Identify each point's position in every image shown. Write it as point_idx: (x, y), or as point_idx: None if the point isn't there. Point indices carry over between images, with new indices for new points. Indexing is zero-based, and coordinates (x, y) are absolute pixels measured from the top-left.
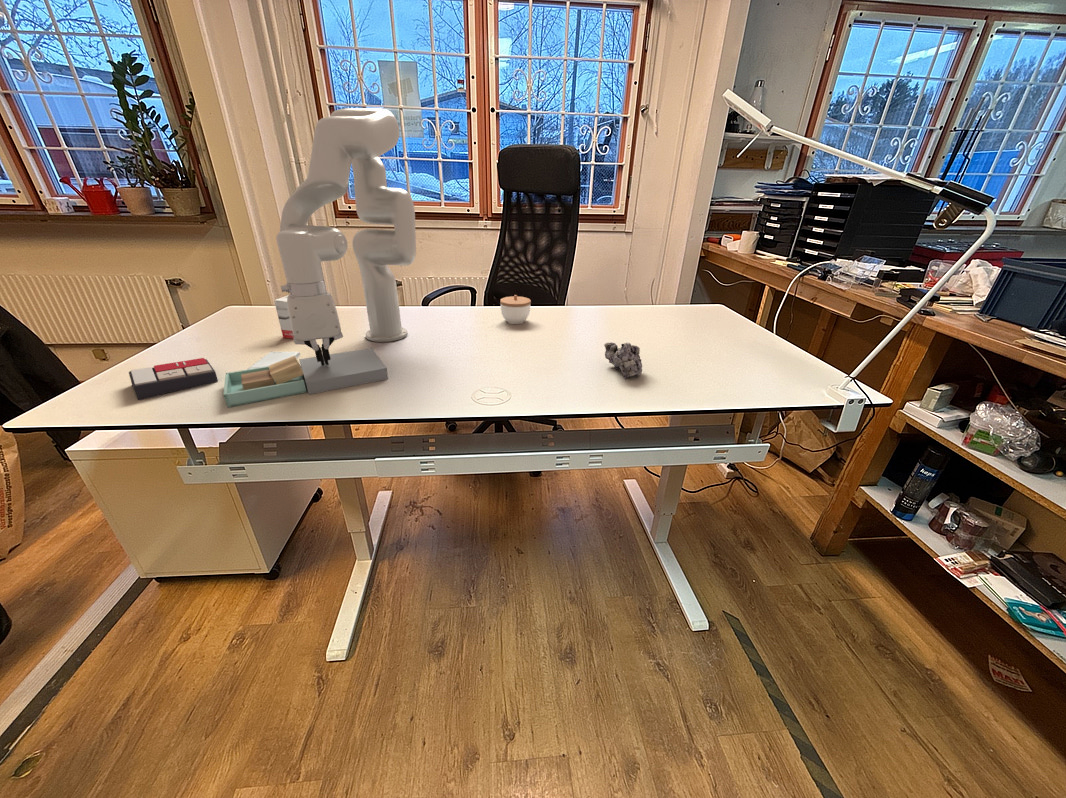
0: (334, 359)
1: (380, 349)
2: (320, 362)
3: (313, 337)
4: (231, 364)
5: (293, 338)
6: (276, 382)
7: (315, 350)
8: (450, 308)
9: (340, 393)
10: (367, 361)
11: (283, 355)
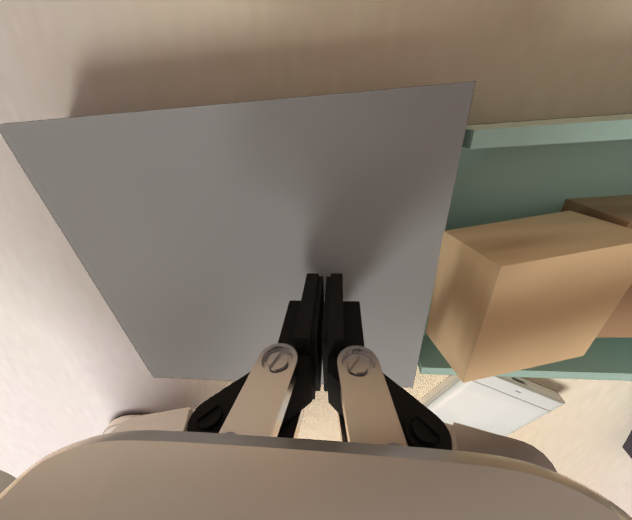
0: None
1: (166, 385)
2: None
3: (375, 483)
4: (561, 446)
5: None
6: (585, 215)
7: (363, 348)
8: None
9: (286, 20)
10: (136, 261)
11: None
